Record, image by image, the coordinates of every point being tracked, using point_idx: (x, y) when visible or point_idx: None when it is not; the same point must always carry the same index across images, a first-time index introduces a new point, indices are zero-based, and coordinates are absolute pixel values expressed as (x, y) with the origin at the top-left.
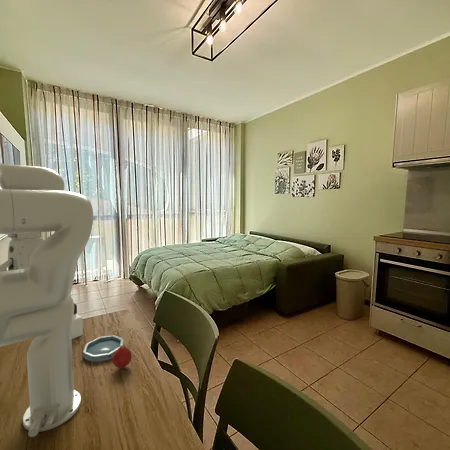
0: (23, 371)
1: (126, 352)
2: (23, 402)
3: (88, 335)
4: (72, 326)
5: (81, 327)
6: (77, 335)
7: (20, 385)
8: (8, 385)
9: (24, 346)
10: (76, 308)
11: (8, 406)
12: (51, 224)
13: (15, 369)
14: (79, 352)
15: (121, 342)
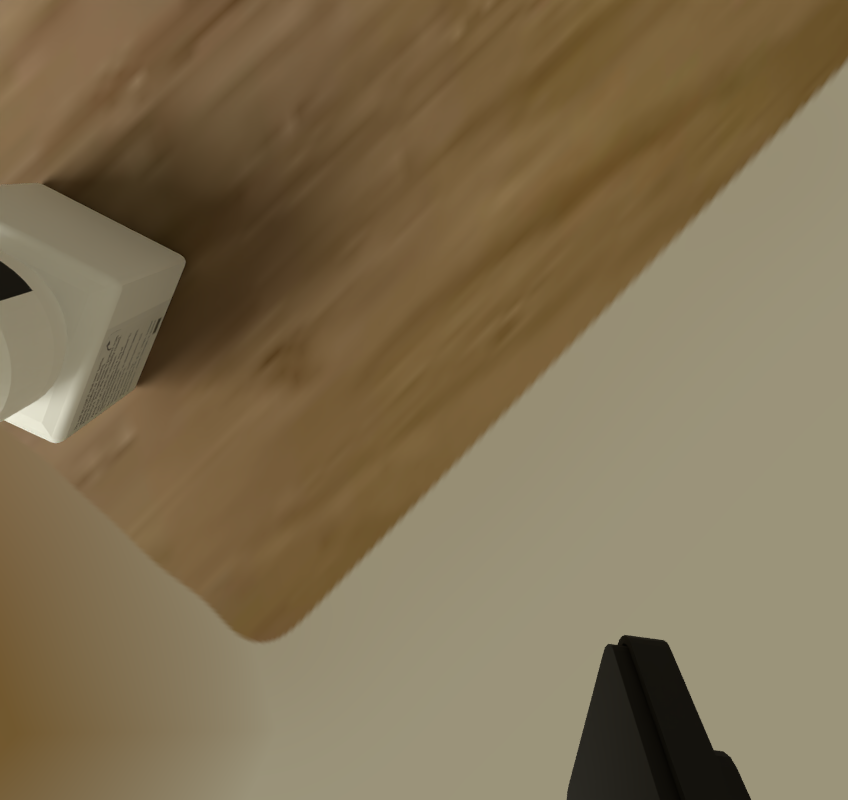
0: (523, 260)
1: None
2: None
3: (28, 127)
4: (58, 229)
5: (6, 188)
6: (74, 202)
7: (648, 156)
8: (653, 234)
9: (290, 487)
10: None
11: (823, 60)
12: None
13: (512, 329)
14: (256, 18)
15: None
